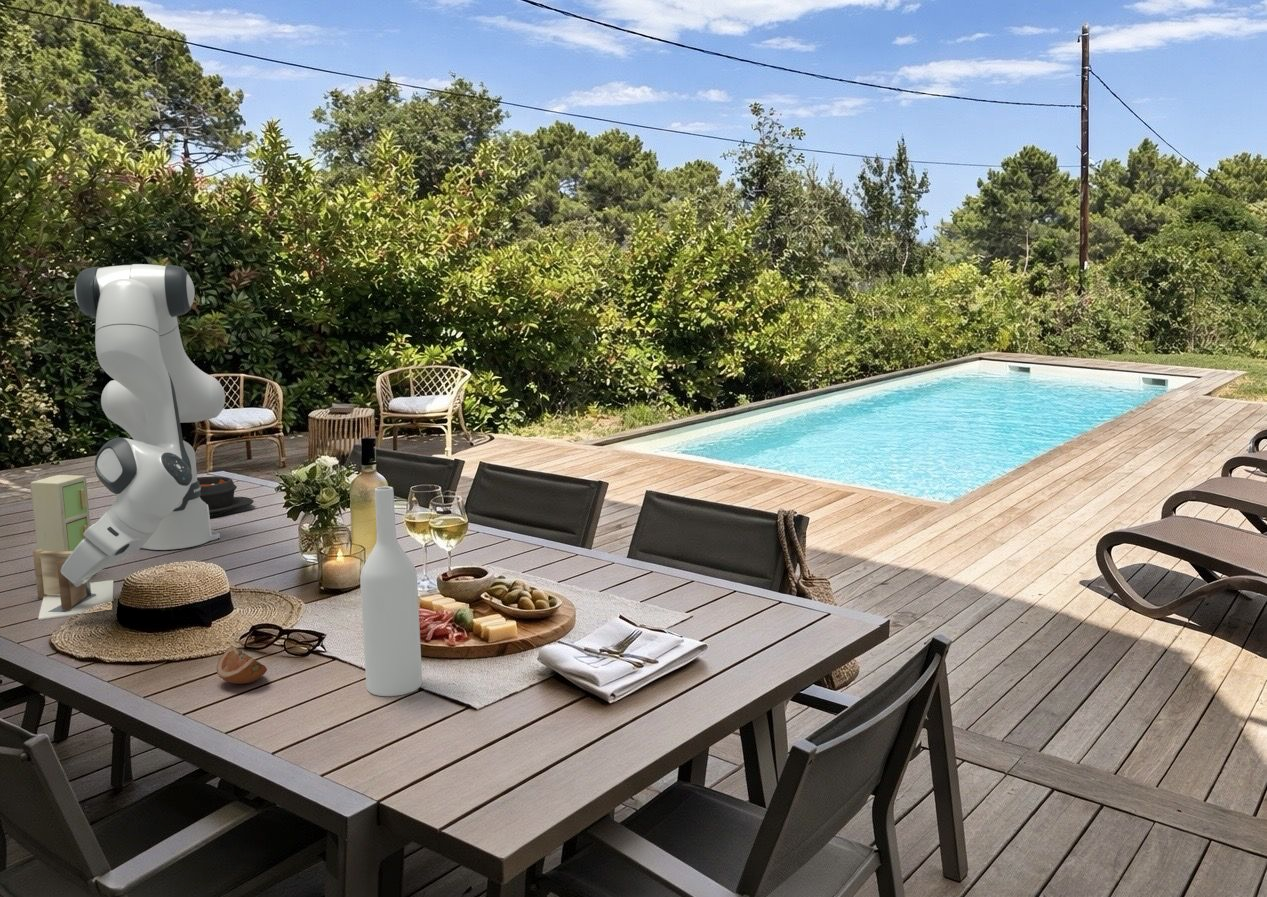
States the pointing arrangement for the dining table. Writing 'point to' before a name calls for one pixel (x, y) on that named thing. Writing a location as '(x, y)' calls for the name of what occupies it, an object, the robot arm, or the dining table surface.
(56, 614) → the board
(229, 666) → the fruit slice
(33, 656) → the dining table surface
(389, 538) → the bottle
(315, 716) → the dining table surface
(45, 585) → the fence fixed section
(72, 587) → the fence panel
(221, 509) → the casserole
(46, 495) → the toy refrigerator
